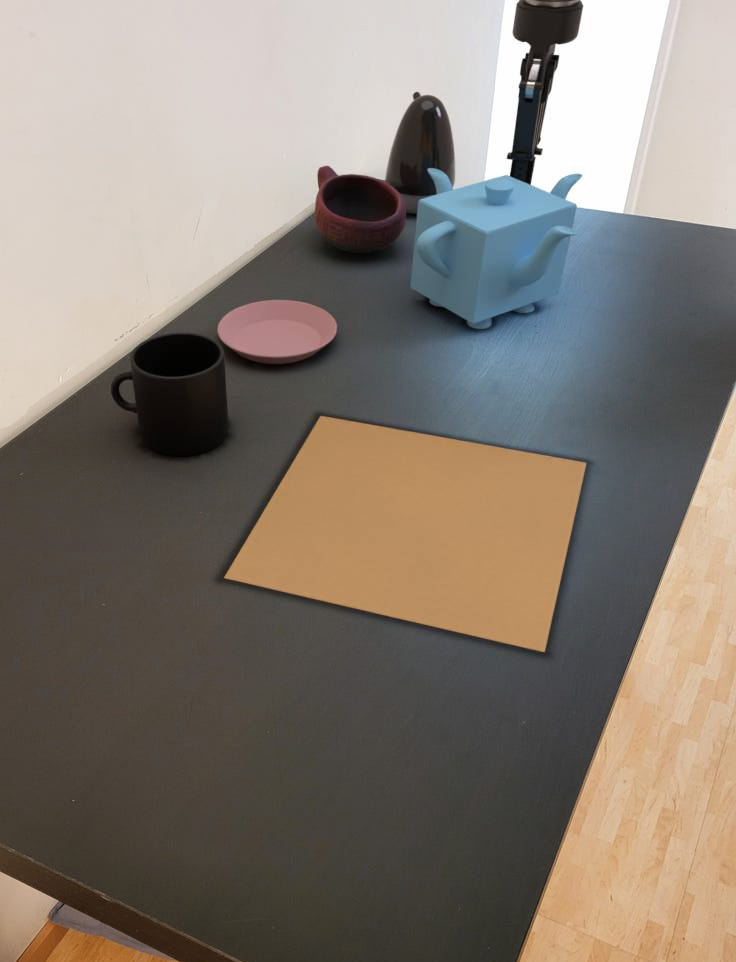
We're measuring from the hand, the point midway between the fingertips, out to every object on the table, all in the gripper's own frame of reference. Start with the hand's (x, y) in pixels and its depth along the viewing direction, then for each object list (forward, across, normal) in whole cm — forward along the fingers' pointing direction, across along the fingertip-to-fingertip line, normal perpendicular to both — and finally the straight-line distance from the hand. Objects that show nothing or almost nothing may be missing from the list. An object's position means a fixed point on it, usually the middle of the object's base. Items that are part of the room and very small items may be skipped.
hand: (515, 209), depth 124 cm
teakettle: (+6, +15, 0) cm, 16 cm away
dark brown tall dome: (+6, -13, -16) cm, 22 cm away
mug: (+6, +55, -26) cm, 61 cm away
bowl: (+6, +3, -22) cm, 23 cm away
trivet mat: (+6, +61, +2) cm, 61 cm away
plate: (+6, +33, -22) cm, 40 cm away
